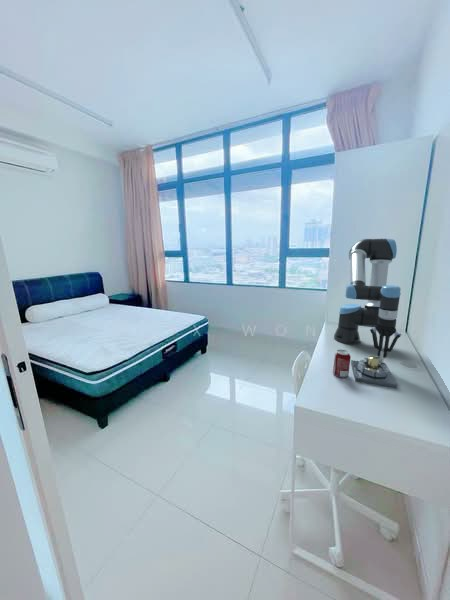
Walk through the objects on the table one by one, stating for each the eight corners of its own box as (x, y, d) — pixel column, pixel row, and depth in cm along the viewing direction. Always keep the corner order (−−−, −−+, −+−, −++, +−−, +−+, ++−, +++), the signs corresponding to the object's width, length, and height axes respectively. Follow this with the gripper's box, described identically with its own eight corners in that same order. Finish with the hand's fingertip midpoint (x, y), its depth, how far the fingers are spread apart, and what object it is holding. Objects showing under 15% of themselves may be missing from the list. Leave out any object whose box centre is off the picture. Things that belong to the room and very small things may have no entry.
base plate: (350, 363, 129) (352, 347, 127) (386, 369, 124) (388, 352, 121) (355, 381, 113) (357, 363, 111) (396, 388, 107) (399, 370, 105)
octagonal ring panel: (383, 380, 109) (384, 372, 108) (354, 370, 117) (355, 363, 116) (392, 364, 123) (393, 358, 122) (366, 357, 131) (366, 351, 130)
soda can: (349, 379, 114) (352, 355, 112) (334, 377, 116) (337, 354, 113) (346, 372, 121) (348, 349, 118) (331, 370, 122) (333, 348, 119)
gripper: (369, 316, 120) (364, 361, 125) (401, 322, 111) (394, 369, 116) (374, 313, 125) (369, 356, 130) (405, 318, 116) (398, 364, 121)
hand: (381, 362), depth 123 cm, fingers closed
